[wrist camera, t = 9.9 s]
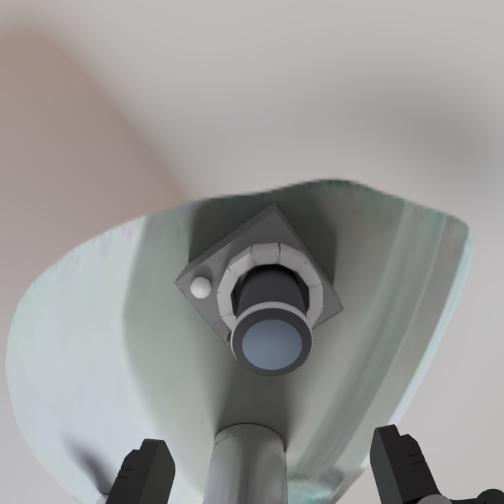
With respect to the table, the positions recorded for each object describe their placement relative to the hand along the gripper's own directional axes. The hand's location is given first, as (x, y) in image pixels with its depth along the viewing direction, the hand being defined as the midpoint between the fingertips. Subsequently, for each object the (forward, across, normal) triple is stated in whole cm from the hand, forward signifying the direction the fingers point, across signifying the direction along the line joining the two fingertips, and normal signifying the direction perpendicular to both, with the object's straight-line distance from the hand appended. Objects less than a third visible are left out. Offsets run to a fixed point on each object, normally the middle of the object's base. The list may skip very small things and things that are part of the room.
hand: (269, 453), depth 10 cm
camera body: (+21, +1, 0) cm, 21 cm away
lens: (+16, 0, 0) cm, 16 cm away
